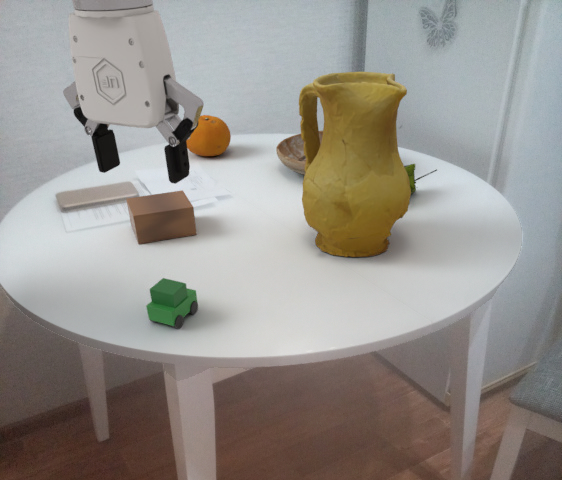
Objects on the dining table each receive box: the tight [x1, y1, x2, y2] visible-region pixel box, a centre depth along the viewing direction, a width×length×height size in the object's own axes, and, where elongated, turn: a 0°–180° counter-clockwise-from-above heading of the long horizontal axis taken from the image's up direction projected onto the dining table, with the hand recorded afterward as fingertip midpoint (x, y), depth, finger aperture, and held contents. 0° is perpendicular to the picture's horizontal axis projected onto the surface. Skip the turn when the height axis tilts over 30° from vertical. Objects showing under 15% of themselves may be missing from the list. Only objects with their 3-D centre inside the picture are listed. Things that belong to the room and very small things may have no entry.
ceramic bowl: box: [275, 130, 323, 176], centre depth 119 cm, size 23×24×5 cm
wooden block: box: [125, 190, 197, 245], centre depth 96 cm, size 10×8×5 cm
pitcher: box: [298, 71, 412, 258], centre depth 87 cm, size 17×19×25 cm
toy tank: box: [403, 163, 438, 194], centre depth 107 cm, size 7×19×10 cm
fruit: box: [187, 114, 232, 157], centre depth 127 cm, size 10×10×8 cm
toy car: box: [145, 277, 199, 329], centre depth 75 cm, size 6×4×5 cm
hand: (144, 173), depth 64 cm, fingers open, 9 cm apart
